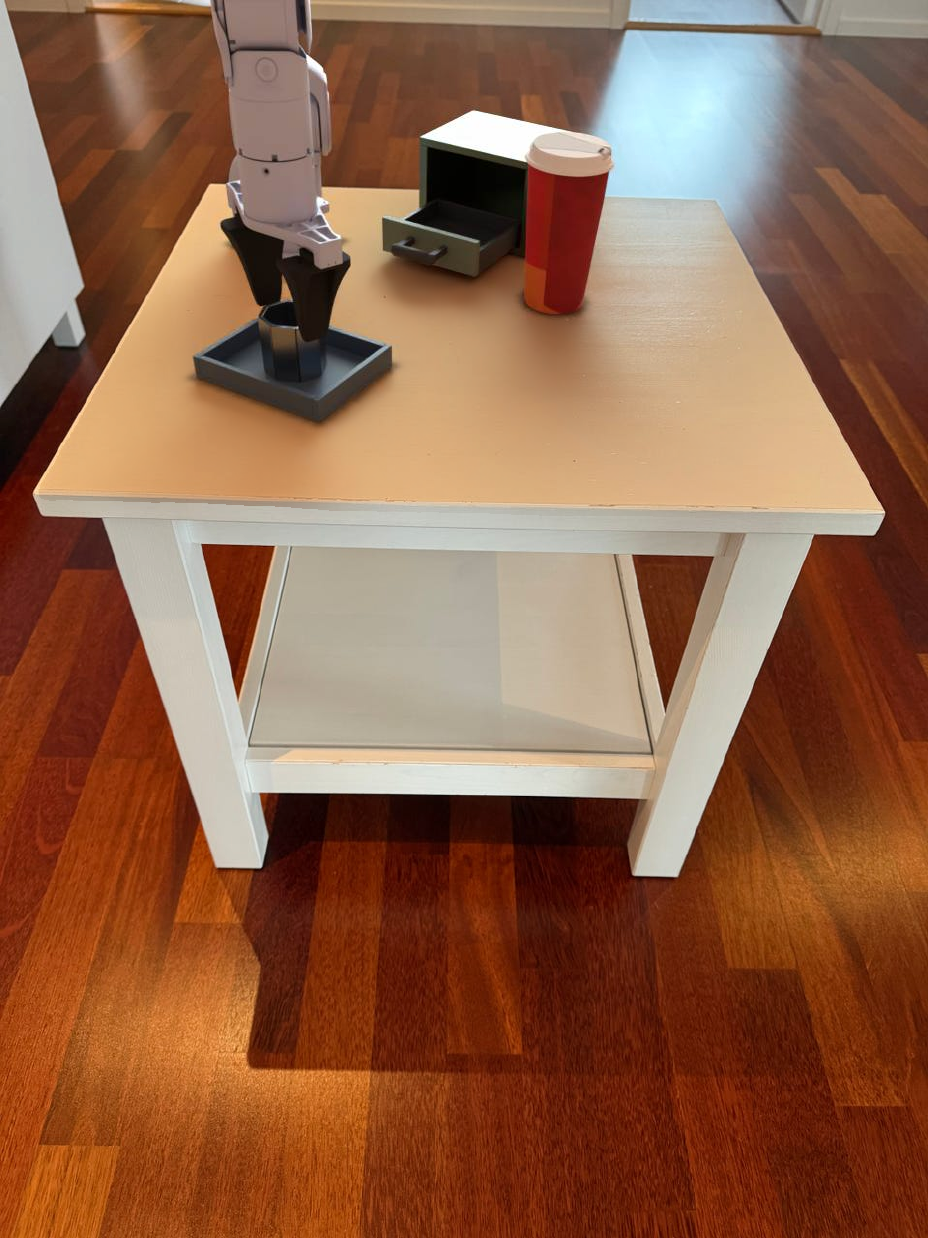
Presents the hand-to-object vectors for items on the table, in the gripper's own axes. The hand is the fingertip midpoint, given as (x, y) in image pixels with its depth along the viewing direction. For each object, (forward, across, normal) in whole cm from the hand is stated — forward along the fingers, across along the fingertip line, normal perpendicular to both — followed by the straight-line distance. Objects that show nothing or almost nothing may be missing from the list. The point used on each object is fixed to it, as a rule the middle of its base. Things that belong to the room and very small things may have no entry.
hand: (291, 319), depth 78 cm
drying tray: (+5, 0, 0) cm, 5 cm away
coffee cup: (+5, -2, -29) cm, 30 cm away
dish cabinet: (+5, +16, -37) cm, 40 cm away
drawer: (+4, +12, -26) cm, 28 cm away
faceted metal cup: (+4, 0, 0) cm, 4 cm away
